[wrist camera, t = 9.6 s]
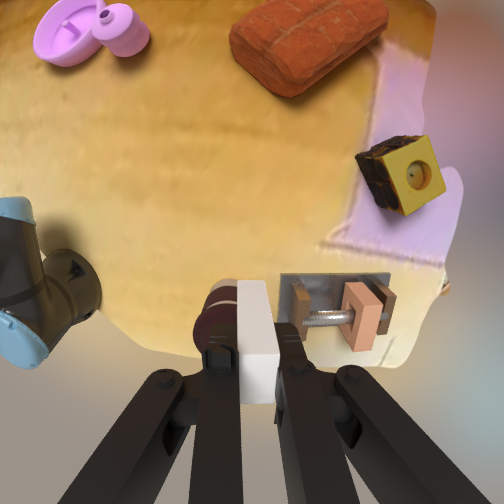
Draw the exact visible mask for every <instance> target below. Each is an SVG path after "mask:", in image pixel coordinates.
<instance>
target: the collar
mask: <svg viewBox="0 0 504 504" xmlns="http://www.w3.org/2000/svg"><path fill="white" fill-rule="evenodd" d="M382 308H383V304H382V303H381V302H380V301H379V299H378V298H377V297H376V296H375V295H374V294H373V293H372V292H371V291H370V290H369V289H368V287H367V286H366V285H365V284H364V283H363V282H345V288H344V294H343V300H342V306H341V310H352V309H355V310H356V316H355V321H354V323H347V324H338V326H339V328H340V329H341V331H342V333H343V335H344V337H345V338H346V340H347V342H348V344H349V346H350V347H351V349H352V351H353V352H359V351H368V350H371V349H372V346H373V342H374V339H375V335H376V331H377V328H378V324H379V320H380V316H381V312H382Z"/></svg>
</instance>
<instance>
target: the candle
mask: <svg viewBox="0 0 504 504" xmlns="http://www.w3.org/2000/svg"><path fill="white" fill-rule="evenodd" d="M355 158H356V159H357V161H358V164H359V166H360V169H361V171H362V173H363V175H364V178H365V180H366V182H367V184H368V186H369V189H370V190H371V192H372V194H373V196H374V199H375V202H376V204H377V205H378V206H380V207H381V208H385V209H387V210H392V211H394V212H398V213H399V214H402V215H404V216H407V215H409V214H411V213H412V212H414V211H416V210H417V209H418V208H420V207H421V206H423V205H424V204H426V203H428V202H429V201H431V200H433V199H435V198H436V197H438V196H439V195H441V194H443V193H444V192H446V186H445V183H444V180H443V177H442V175H441V172H440V169H439V166H438V163H437V160H436V157H435V155H434V152H433V148H432V146H431V143H430V140H429V137H428V136H427V135H424V136H416V135H415V136H406V135H404V136H395V137H393V138H391V139H388V140H385V141H383V142H381V143H380V144H377V145H375V146H374V147H371V150H370V151H367V152H362V153H360V154H357V155H355Z"/></svg>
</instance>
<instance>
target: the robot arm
mask: <svg viewBox="0 0 504 504" xmlns="http://www.w3.org/2000/svg"><path fill="white" fill-rule="evenodd" d="M35 226H36V222H35V221H34V217H33V212H32V206H31V203H30V201H29V200H28V199H27V198H25V197H5V198H0V354H1V355H2V356H3V357H4V358H5V359H6V360H8V361H9V362H11V363H12V364H13V365H15V366H17V367H20V368H23V369H34V368H36V367H38V366H39V364H40V363H41V362H42V361H43V360H44V359H46V358H47V357H48V355H49V354H50V352H51V351H52V350H53V348H54V347H55V346H56V345H57V343H58V342H59V341H60V339H61V338H62V337H63V336H64V334H65V333H66V332H67V331H68V329H69V328H70V327H71V326H73V325H75V324H77V323H80V322H82V321H85V320H87V319H88V318H90V317H91V316H92V315H93V313H94V312H95V311H96V310H97V308H98V307H99V304H100V301H101V287H100V282H99V279H98V277H97V275H96V273H95V271H94V269H93V268H92V266H91V265H90V264H89V263H88V262H87V260H85V259H84V258H83V257H82V256H81V255H79V254H77V253H76V252H73V251H70V250H58V251H55V252H54V253H52V254H50V255H49V256H47V257H46V258H45V259H44V261H43V262H42V260H41V255H40V250H39V245H38V240H37V234H36V229H35ZM202 362H203V369H202V370H201V371H200V372H198V373H196V374H193V375H189V376H182V375H181V374H180V373H179V372H177V371H175V370H172V369H160V370H157V371H155V372H153V373H152V374H151V375H150V376H149V377H148V378H147V379H146V381H145V382H144V384H143V385H142V386H141V388H140V389H139V390H138V392H137V393H136V394H135V396H134V397H133V399H132V400H131V401H130V403H129V404H128V406H127V407H126V408H125V410H124V411H123V412H122V414H121V415H120V416H119V418H118V419H117V421H116V422H115V423H114V425H113V426H112V428H111V429H110V430H109V432H108V433H107V435H106V436H105V437H104V439H103V440H102V441H101V443H100V444H99V446H98V447H97V448H96V450H95V451H94V453H93V454H92V455H91V457H90V458H89V460H88V461H87V462H86V464H85V465H84V467H83V468H82V470H81V471H80V472H79V474H78V475H77V476H76V478H75V479H74V481H73V482H72V483H71V485H70V486H69V488H68V489H67V491H66V492H65V493H64V495H63V496H62V498H61V499H60V501H59V502H58V503H57V504H154V502H155V500H156V498H157V496H158V494H159V492H160V490H161V488H162V486H163V484H164V481H165V479H166V477H167V475H168V473H169V471H170V469H171V467H172V465H173V463H174V461H175V459H176V457H177V455H178V453H179V450H180V448H181V446H182V444H183V442H184V440H185V438H186V436H187V434H188V432H189V429H190V427H191V425H196V431H195V440H194V450H193V459H192V469H191V479H190V490H189V502H188V504H243V481H242V480H243V479H242V453H241V422H240V404H271V403H272V404H273V403H275V398H276V404H277V405H276V413H275V421H274V424H277V427H278V434H279V440H280V448H281V454H282V462H283V469H284V475H285V483H286V489H287V496H288V503H289V504H360V502H359V498H358V495H357V492H356V489H355V485H354V483H353V479H352V476H351V473H350V470H349V466H348V463H347V460H346V457H345V454H346V456H347V457H348V459H349V460H350V462H351V463H352V465H353V466H354V467H355V469H356V471H357V472H358V474H359V475H360V477H361V478H362V479H363V481H364V482H365V484H366V485H367V487H368V488H369V489H370V491H371V492H372V494H373V495H374V497H375V498H376V499H377V501H378V502H379V504H491V503H490V502H489V501H488V500H487V499H486V497H484V495H483V494H482V493H481V492H480V491H479V490H478V489H477V488H476V487H475V486H474V485H473V484H472V482H471V481H470V480H469V479H468V478H467V477H466V476H465V475H464V474H463V473H462V472H461V471H460V470H459V468H458V467H456V465H455V464H454V463H453V462H452V461H451V460H450V459H449V458H448V457H447V456H446V455H445V454H444V452H443V451H442V450H441V449H440V448H439V447H438V446H437V445H436V444H435V443H434V442H433V441H432V440H431V439H430V437H429V436H428V435H427V434H426V433H425V432H424V431H423V430H422V429H421V428H420V427H419V426H418V425H417V424H416V423H415V421H413V419H412V418H411V417H410V416H409V415H408V414H407V413H406V412H405V411H404V410H403V409H402V408H401V407H400V406H399V404H398V403H397V402H396V401H395V400H394V399H393V398H392V397H391V396H390V395H389V394H388V393H387V392H386V391H385V390H384V388H383V387H382V386H381V385H380V384H379V383H378V382H377V381H376V380H375V379H374V378H373V377H372V376H371V375H370V374H369V373H368V371H366V370H365V369H364V368H362V367H360V366H357V365H345V366H343V367H340V368H339V369H338V371H337V372H336V373H329V372H323V371H320V370H318V369H316V367H315V366H314V364H313V363H312V362H310V361H309V360H308V359H307V356H306V353H305V350H304V347H303V344H302V341H301V338H300V336H299V332H298V329H297V327H295V326H294V325H293V324H292V323H291V322H283V323H273V318H272V313H271V309H270V304H269V299H268V295H267V290H266V285H265V281H264V280H237V324H231V323H216V324H215V325H214V326H213V327H212V329H211V333H210V340H209V345H207V346H206V347H205V348H203V350H202ZM344 453H345V454H344Z"/></svg>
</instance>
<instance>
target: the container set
mask: <svg viewBox="0 0 504 504" xmlns="http://www.w3.org/2000/svg"><path fill="white" fill-rule="evenodd" d="M149 36H150V33H149V28H148V27H147V25H146V24H145V23H144V22H142V21H140V18H139V16H138V14H137V13H136V12H134V11H133V10H132V9H131V8H130V7H129V6H128V5H125V4H120V3H118V4H112V5H110V6H108V5H107V4H106V3H105V2H104V1H103V0H60V1H58V2H57V3H56V4H55V5H54V6H52V7H51V8H50V9H49V11H48V12H47V13H46V14H45V15H44V17H43V18H42V19H41V21H40V23H39V24H38V27H37V29H36V31H35V34H34V38H33V50H34V52H35V54H36V55H37V57H39V58H41V59H43V60H45V61H48V62H50V63H53V64H55V65H57V66H60V67H71V66H75V65H77V64H80V63H82V62H84V61H85V60H87V59H88V58H90V57H91V56H92V55H93V54H95V53H96V52H97V51H98V50H99V49H100V48H101V46H102V45H104V46H106V47H108V48H109V49H110V51H111V52H112V53H113V54H114V55H116V56H119V57H130V56H133V55H135V54H137V53H138V52H140V51H141V50H142V49H143V48H144V47H145V46H146V44H147V43H148V40H149Z"/></svg>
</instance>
